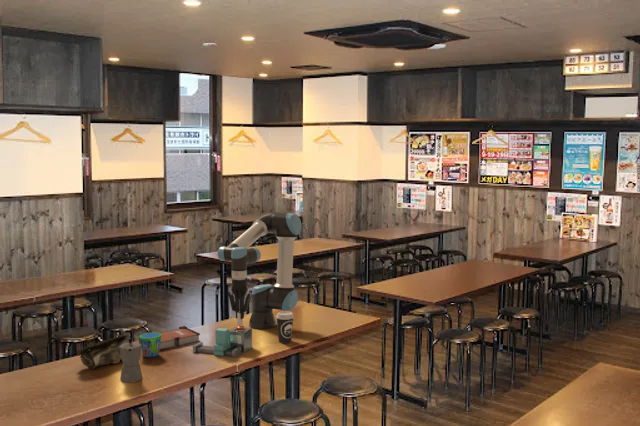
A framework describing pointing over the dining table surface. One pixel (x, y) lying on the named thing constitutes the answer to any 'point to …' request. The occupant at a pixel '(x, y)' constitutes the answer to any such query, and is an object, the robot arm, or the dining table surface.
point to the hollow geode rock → (103, 352)
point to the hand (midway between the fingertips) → (240, 324)
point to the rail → (210, 350)
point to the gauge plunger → (239, 328)
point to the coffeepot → (130, 361)
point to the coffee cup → (284, 326)
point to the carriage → (222, 341)
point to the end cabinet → (241, 339)
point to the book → (178, 337)
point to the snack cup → (150, 344)
